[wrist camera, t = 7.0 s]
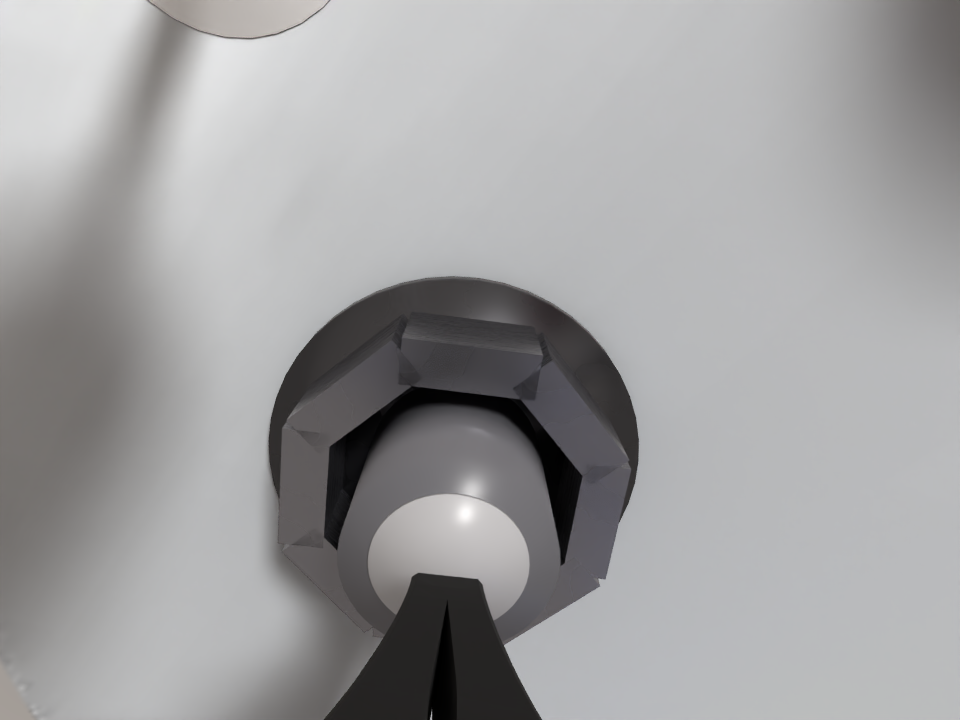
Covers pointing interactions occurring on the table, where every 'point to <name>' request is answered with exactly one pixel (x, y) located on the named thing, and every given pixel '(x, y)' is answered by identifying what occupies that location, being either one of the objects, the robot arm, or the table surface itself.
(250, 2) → the champagne flute
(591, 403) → the socket
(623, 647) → the table surface
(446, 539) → the cap
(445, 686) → the robot arm
